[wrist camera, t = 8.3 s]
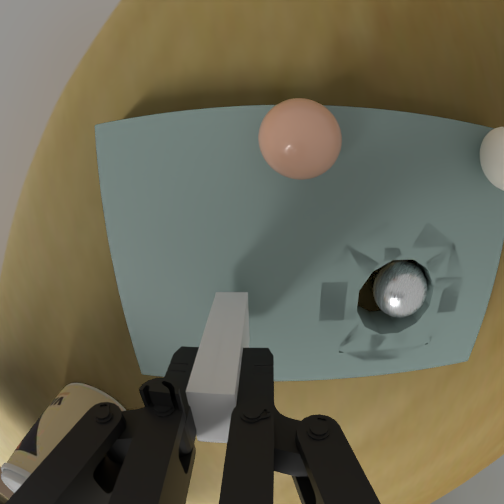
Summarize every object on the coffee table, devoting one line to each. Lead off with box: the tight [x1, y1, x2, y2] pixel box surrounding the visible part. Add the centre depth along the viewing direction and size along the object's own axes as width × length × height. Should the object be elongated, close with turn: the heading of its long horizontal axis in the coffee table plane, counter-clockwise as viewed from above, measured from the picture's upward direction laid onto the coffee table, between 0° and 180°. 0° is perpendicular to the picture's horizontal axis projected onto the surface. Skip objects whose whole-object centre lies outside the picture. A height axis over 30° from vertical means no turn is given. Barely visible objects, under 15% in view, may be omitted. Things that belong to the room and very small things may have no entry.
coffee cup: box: [1, 383, 126, 493], centre depth 19 cm, size 9×9×12 cm
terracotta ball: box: [258, 98, 342, 180], centre depth 11 cm, size 3×3×3 cm
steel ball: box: [373, 260, 427, 317], centre depth 16 cm, size 3×3×3 cm
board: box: [95, 105, 504, 381], centre depth 16 cm, size 22×15×2 cm
